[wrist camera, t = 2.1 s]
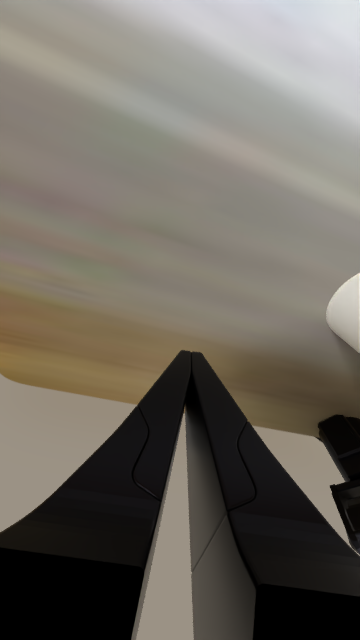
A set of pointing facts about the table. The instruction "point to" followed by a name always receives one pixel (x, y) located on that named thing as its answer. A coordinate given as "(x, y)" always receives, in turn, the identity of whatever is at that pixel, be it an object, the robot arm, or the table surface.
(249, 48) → the table surface
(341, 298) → the cylindrical container
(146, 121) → the table surface
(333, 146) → the table surface
